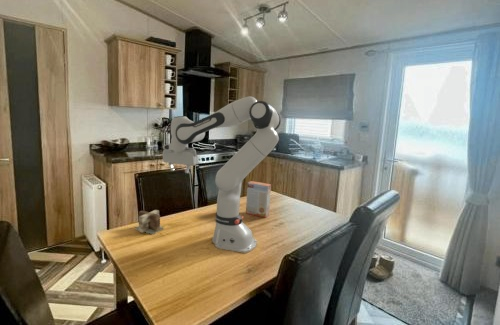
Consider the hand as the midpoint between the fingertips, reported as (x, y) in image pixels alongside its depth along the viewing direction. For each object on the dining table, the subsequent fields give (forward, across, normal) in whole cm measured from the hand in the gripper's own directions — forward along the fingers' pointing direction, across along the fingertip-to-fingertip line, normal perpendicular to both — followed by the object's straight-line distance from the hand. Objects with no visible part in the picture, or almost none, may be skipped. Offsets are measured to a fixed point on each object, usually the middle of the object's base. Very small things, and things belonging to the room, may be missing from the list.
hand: (179, 171), depth 147 cm
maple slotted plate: (+29, +9, +14) cm, 33 cm away
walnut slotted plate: (+30, +9, +14) cm, 34 cm away
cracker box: (+31, -33, -36) cm, 58 cm away
